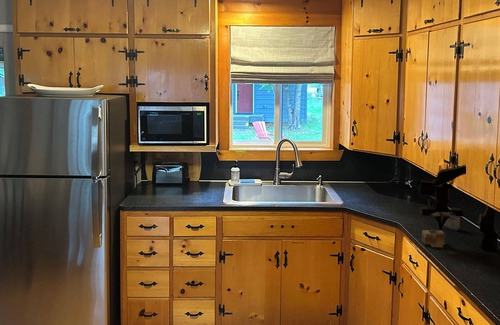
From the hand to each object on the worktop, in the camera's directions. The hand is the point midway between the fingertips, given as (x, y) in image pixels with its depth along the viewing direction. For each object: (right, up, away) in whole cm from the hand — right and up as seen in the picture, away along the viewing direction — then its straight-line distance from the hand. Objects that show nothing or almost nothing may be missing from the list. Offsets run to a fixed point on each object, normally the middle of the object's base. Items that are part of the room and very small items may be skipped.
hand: (439, 229), depth 262 cm
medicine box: (+14, -3, +27) cm, 31 cm away
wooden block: (+2, -4, +1) cm, 4 cm away
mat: (-2, -7, +1) cm, 7 cm away
